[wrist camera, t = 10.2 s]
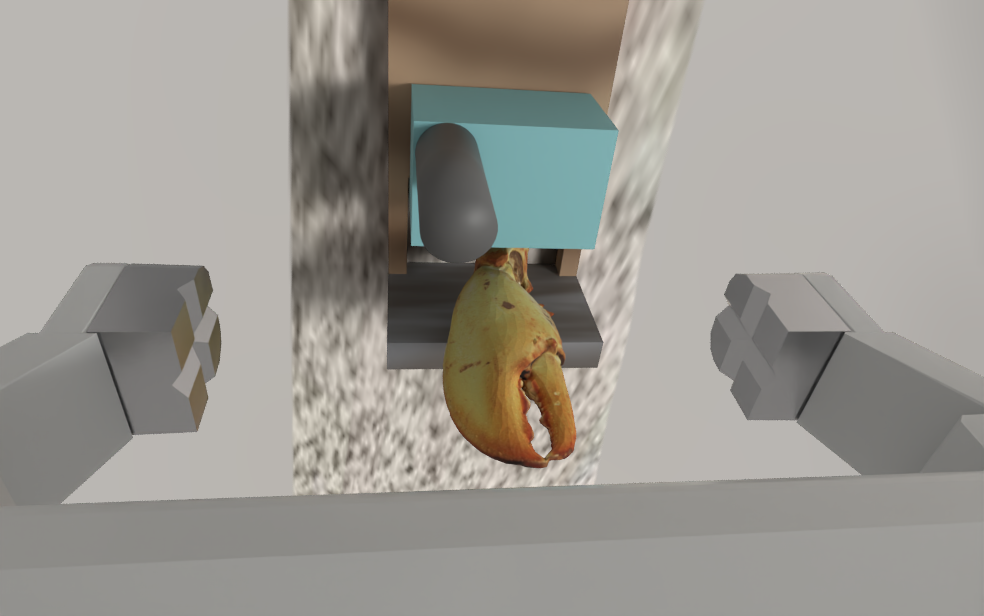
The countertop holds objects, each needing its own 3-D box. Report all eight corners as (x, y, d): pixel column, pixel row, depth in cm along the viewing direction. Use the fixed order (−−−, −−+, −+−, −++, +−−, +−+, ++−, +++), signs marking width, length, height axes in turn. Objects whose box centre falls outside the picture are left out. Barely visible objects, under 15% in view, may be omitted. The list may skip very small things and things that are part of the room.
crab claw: (429, 252, 45) (446, 482, 29) (440, 184, 42) (465, 397, 26) (526, 263, 47) (594, 487, 31) (543, 197, 44) (627, 407, 28)
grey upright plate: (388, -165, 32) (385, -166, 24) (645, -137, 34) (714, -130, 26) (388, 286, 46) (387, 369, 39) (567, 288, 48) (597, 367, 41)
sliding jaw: (411, 83, 37) (417, 192, 26) (590, 93, 38) (671, 200, 27) (409, 197, 41) (414, 334, 30) (571, 202, 42) (635, 334, 31)
